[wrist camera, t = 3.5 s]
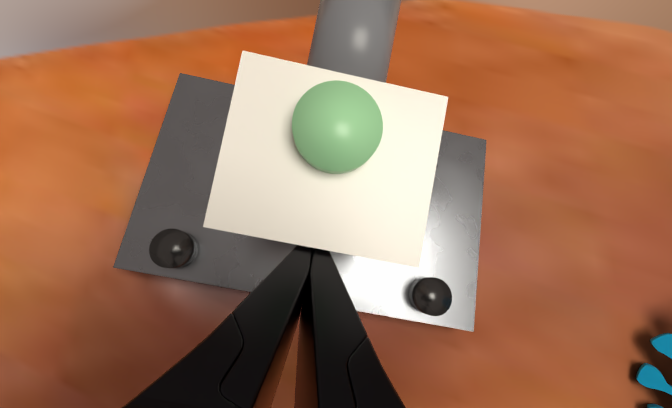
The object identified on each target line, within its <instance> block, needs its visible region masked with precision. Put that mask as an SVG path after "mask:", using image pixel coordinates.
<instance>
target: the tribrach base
mask: <svg viewBox="0 0 672 408" xmlns="http://www.w3.org/2000/svg"><path fill="white" fill-rule="evenodd" d="M234 87H235V85H232V84H228V83H223V82H219V81H214V80H209V79H205V78H200V77H196V76H191V75H187V74H182V73H180V75H179V78H178V80H177V83H176V86H175V89H174V92H173V95H172V98H171V101H170V104H169V107H168V110H167V112H166V115H165V118H164V121H163V124H162V127H161V130H160V133H159V136H158V139H157V142H156V144H155V147H154V150H153V153H152V156H151V159H150V162H149V165H148V168H147V171H146V174H145V176H144V179H143V182H142V185H141V188H140V191H139V194H138V197H137V200H136V203H135V206H134V208H133V211H132V214H131V217H130V220H129V223H128V226H127V229H126V232H125V235H124V238H123V240H122V243H121V246H120V249H119V252H118V255H117V258H116V261H115V264H114V268H119V269H125V270H131V271H136V272H142V273H147V274H153V275H159V276H164V277H170V278H175V279H181V280H187V281H192V282H198V283H203V284H209V285H215V286H220V287H226V288H232V289H237V290H243V291H248V292H252V291H253V290H254V289H255V288H256V287H257V286H258V285H259V284H260V283H261V282H262V281H263V280H264V279H265V278H266V277H267V276H268V275H269V273H270V272H271V271H272V270H273V269H274V268H275V267H276V266H277V265H278V264H279V263H280V262H281V261H282V260H283V259H284V258H285V257H286V256H287V255H288V254H289V253H290V252H291V251H292V250H293V249H294V248H295V247H296V246H297V245H296V244H290V243H285V242H280V241H275V240H269V239H264V238H259V237H253V236H248V235H243V234H238V233H232V232H227V231H222V230H216V229H211V228H206V227H203V224H204V220H205V216H206V211H207V207H208V202H209V198H210V193H211V189H212V184H213V180H214V176H215V171H216V167H217V162H218V158H219V153H220V149H221V144H222V140H223V135H224V131H225V127H226V122H227V118H228V113H229V109H230V104H231V100H232V95H233V91H234ZM485 153H486V140H484V139H479V138H475V137H470V136H466V135H461V134H457V133H452V132H447V131H443V130H442V136H441V142H440V148H439V154H438V159H437V165H436V171H435V177H434V183H433V189H432V194H431V200H430V206H429V212H428V218H427V223H426V229H425V235H424V241H423V247H422V252H421V258H420V264H419V268H417V267H412V266H407V265H401V264H396V263H391V262H386V261H380V260H375V259H370V258H364V257H359V256H354V255H349V254H343V253H338V252H333V251H330V253H331V255H332V258H333V260H334V262H335V264H336V267H337V269H338V271H339V273H340V275H341V278H342V280H343V282H344V284H345V286H346V289H347V291H348V293H349V295H350V298H351V300H352V302H353V304H354V306H355V309H356V311H361V312H366V313H372V314H377V315H383V316H389V317H394V318H400V319H405V320H411V321H417V322H422V323H428V324H434V325H439V326H445V327H450V328H456V329H462V330H467V331H473V332H474V318H475V303H476V288H477V273H478V258H479V243H480V228H481V213H482V198H483V183H484V168H485Z"/></svg>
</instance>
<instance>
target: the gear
mask: <svg viewBox="0 0 672 408" xmlns="http://www.w3.org/2000/svg"><path fill="white" fill-rule="evenodd" d="M650 342H651V344H652V346H653V347H654V348H655V349H656V350H658V351H659V352H661V353H663V354H665V355H666V356H668V357H670V358H671V359H672V334H670V333H664V334H660V335H658V336H656V337H654V338H652V339H651V340H650ZM636 379H637V380H638V382H639V383H641V384H642V385H643V386H645V387H648V388H652V389H657V390H660V391H664V392H666V393H668V394H670V395H672V386H671V385H669V384H668V383H667V382H666V381H665V379H664V377H663V375H662V374H661V373H660V371H659V370H658V369H657V368H656V367H654V366H653V365H651V364H648V363H644V364H643V365H641V367H640V368H639V370H638V372H637V375H636ZM647 408H663V407H662V406H660V405H657V404H647Z"/></svg>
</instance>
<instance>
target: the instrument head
mask: <svg viewBox="0 0 672 408" xmlns="http://www.w3.org/2000/svg"><path fill="white" fill-rule="evenodd" d="M400 4H401V0H321V1H320V6H319V10H318V15H317V20H316V25H315V29H314V34H313V39H312V44H311V49H310V53H309V58H308V63H307V65H304V64H300V63H295V62H291V61H286V60H282V59H278V58H273V57H269V56H264V55H260V54H255V53H251V52H247V51H242V55H241V60H240V64H239V69H238V73H237V78H236V82H235V87H234V91H233V95H232V100H231V104H230V109H229V113H228V118H227V122H226V127H225V131H224V135H223V140H222V144H221V149H220V153H219V158H218V162H217V167H216V171H215V176H214V180H213V184H212V189H211V193H210V198H209V202H208V207H207V211H206V216H205V220H204V224H203V227H206V228H211V229H216V230H222V231H227V232H232V233H238V234H243V235H248V236H253V237H259V238H264V239H269V240H275V241H280V242H285V243H290V244H296V245H301V246H306V247H312V248H317V249H322V250H327V251H333V252H338V253H343V254H349V255H354V256H359V257H364V258H370V259H375V260H380V261H386V262H391V263H396V264H401V265H407V266H412V267H417V268H419V264H420V258H421V252H422V247H423V241H424V235H425V229H426V223H427V218H428V212H429V206H430V200H431V194H432V189H433V183H434V177H435V171H436V165H437V159H438V154H439V148H440V142H441V136H442V130H443V125H444V119H445V113H446V107H447V101H448V97H446V96H442V95H437V94H433V93H428V92H424V91H419V90H415V89H410V88H406V87H402V86H397V85H393V84H388V83H386V78H387V73H388V68H389V62H390V57H391V52H392V46H393V41H394V36H395V30H396V25H397V20H398V14H399V9H400Z"/></svg>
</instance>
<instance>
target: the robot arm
mask: <svg viewBox="0 0 672 408" xmlns="http://www.w3.org/2000/svg"><path fill="white" fill-rule="evenodd" d="M301 307H302V308H301ZM300 312H301V314H300ZM299 317H300V323H299V338H298V354H297V371H296V388H295V404H294V408H406V407H405V406H404V404H403V402H402V401H401V399H400V397H399V395H398V394H397V392H396V390H395V389H394V387H393V385H392V383H391V382H390V380H389V378H388V376H387V374H386V373H385V371H384V369H383V367H382V365H381V363H380V361H379V359H378V357H377V355H376V353H375V351H374V348H373V346H372V344H371V342H370V339H369V338H368V337H367V333H366V331H365V329H364V326H363V324H362V322H361V320H360V318H359V315H358V313H357V311H356V309H355V306H354V304H353V302H352V300H351V298H350V295H349V293H348V291H347V289H346V286H345V284H344V282H343V280H342V278H341V275H340V273H339V271H338V269H337V267H336V264H335V262H334V260H333V258H332V255H331V253H330V251H327V250H322V249H317V248H312V247H306V246H301V245H297V246H296V247H295V248H294V249H293V250H292V251H291V252H290V253H289V254H288V255H287V256H286V257H285V258H284V259H283V260H282V261H281V262H280V263H279V264H278V265H277V266H276V267H275V268H274V269H273V270H272V271H271V272H270V273H269V275H268V276H267V277H266V278H265V279H264V280H263V281H262V282H261V283H260V284H259V285H258V286H257V287H256V288H255V289H254V290H253V291H252V292H251V293H250V294H249V295H248V296H247V297H246V298H245V299H244V300H243V301H242V302H241V303H240V304H239V306H238V307H237V308H236V309H235V310H234V311H233V312H232V314H230V315H229V316H228V317H227V318H226V319H225V320H224V321H223V322H222V323H221V324H220V325H219V326H218V327H217V328H216V329H215V330H214V331H213V332H212V333H211V334H210V335H209V336H208V337H207V338H206V339H204V340H203V341H202V342H201V343H200V344H199V345H197V346H196V347H195V348H194V349H193V350H192V351H191V352H189V353H188V354H187V355H186V356H185V357H183V358H182V359H181V360H180V361H179V362H177V363H176V364H175V365H174V366H173V367H171V368H170V369H169V370H168V371H166V372H165V373H164V374H163V375H162V376H160V377H159V378H158V379H157V380H156V381H154V382H153V383H152V384H151V385H149V386H148V387H147V388H146V389H145V390H143V391H142V392H141V393H140V394H139V395H137V396H136V397H135V398H134V399H132V400H131V401H130V402H129V403H127V404H126V405H124V406H123V407H122V408H271V405H272V401H273V398H274V395H275V392H276V389H277V386H278V383H279V380H280V377H281V373H282V370H283V367H284V364H285V361H286V358H287V355H288V352H289V349H290V346H291V342H292V339H293V336H294V333H295V330H296V327H297V324H298V320H299Z"/></svg>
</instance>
